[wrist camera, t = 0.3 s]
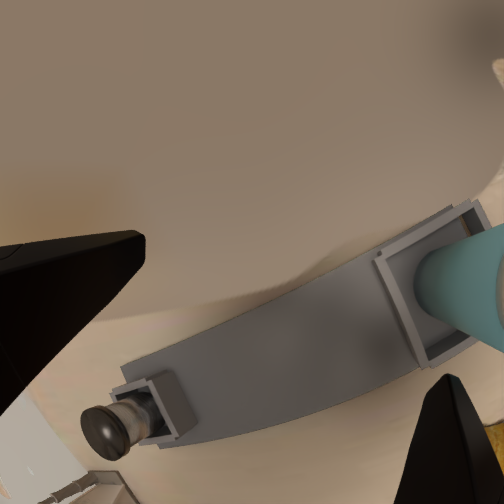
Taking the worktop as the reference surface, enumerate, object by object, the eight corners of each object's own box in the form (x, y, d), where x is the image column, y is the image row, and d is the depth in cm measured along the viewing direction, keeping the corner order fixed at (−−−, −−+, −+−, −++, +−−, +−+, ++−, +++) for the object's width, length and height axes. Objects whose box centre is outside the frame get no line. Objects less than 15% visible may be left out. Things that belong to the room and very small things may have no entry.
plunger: (173, 435, 21) (128, 467, 15) (135, 428, 22) (89, 452, 16) (163, 390, 21) (112, 414, 16) (125, 386, 23) (74, 404, 17)
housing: (456, 201, 18) (475, 186, 14) (502, 309, 16) (527, 314, 13) (126, 364, 26) (98, 373, 23) (165, 444, 24) (141, 461, 21)
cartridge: (477, 310, 16) (595, 342, 4) (417, 324, 18) (498, 388, 6) (468, 242, 17) (584, 199, 5) (408, 254, 18) (486, 218, 6)
